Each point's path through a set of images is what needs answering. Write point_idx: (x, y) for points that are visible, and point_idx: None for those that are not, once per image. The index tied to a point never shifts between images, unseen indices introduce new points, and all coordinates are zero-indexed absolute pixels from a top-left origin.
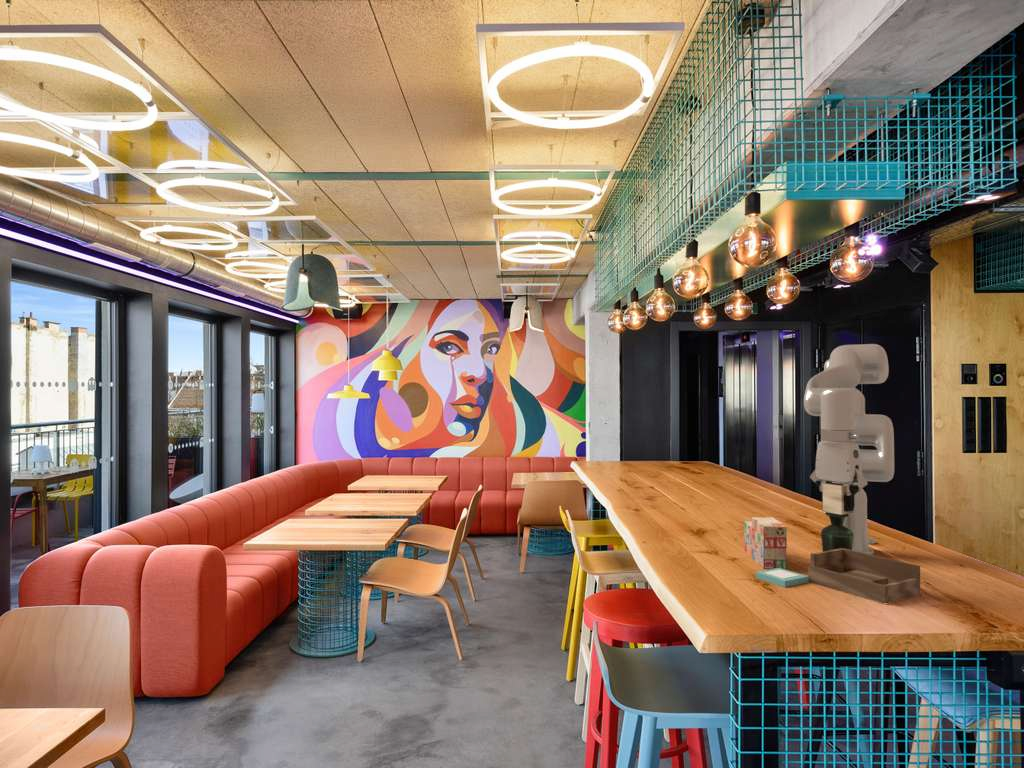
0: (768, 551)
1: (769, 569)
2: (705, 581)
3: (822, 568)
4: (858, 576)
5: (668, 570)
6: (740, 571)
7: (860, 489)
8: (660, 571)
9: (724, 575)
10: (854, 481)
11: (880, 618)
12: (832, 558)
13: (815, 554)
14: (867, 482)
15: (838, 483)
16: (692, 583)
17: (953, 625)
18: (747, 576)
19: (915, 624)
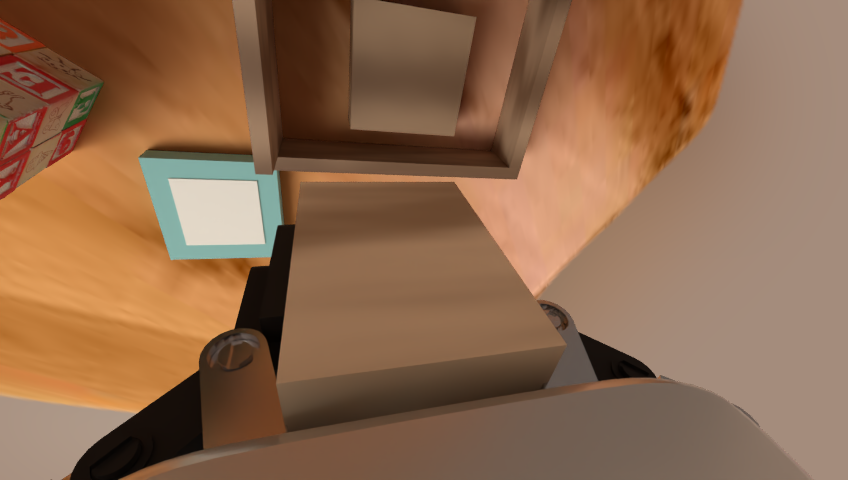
0: (31, 166)
1: (79, 135)
2: (166, 355)
3: (275, 104)
4: (406, 94)
5: (26, 377)
6: (82, 236)
7: (630, 358)
8: (35, 393)
9: (121, 297)
10: (611, 380)
11: (515, 246)
12: (263, 37)
13: (272, 166)
14: (758, 424)
15: (378, 397)
16: (173, 380)
17: (620, 172)
18: (151, 255)
19: (566, 223)
